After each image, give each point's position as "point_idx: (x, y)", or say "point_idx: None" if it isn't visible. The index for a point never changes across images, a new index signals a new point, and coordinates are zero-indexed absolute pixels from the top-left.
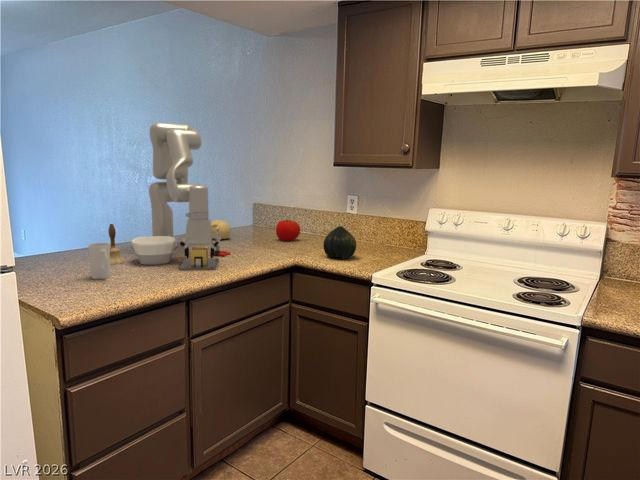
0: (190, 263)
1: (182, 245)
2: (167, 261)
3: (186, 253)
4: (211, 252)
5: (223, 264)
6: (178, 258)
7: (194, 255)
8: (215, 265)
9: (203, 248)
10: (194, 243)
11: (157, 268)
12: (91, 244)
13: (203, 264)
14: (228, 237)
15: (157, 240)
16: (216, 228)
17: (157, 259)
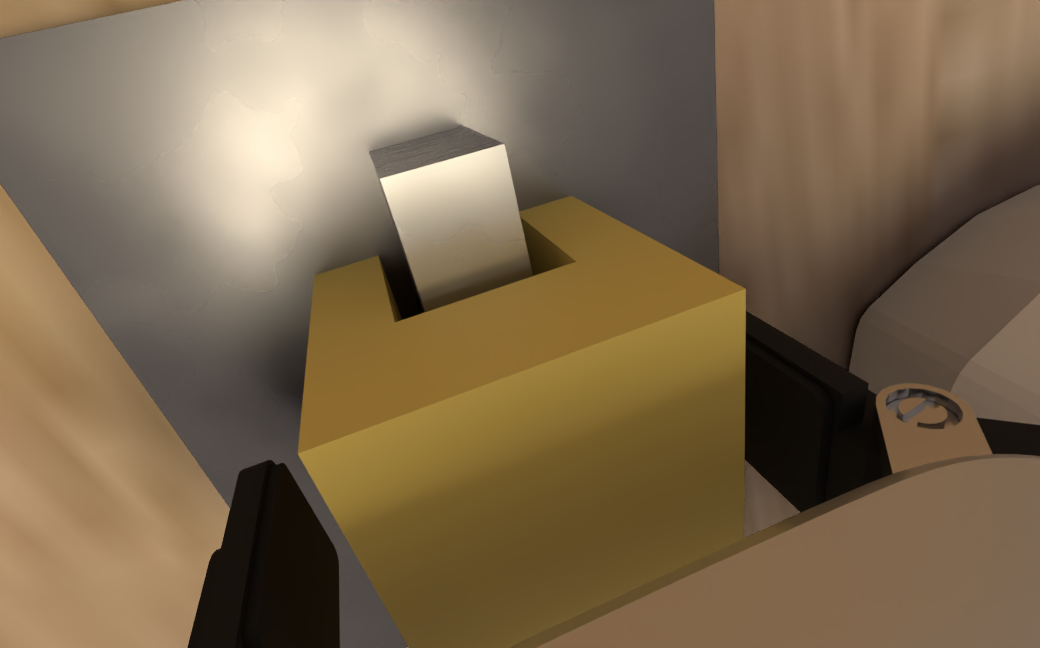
0: None
1: (1011, 434)
2: (886, 310)
3: (773, 332)
4: (238, 559)
5: (122, 507)
6: (780, 519)
7: (585, 270)
8: (109, 299)
9: (498, 617)
10: (807, 539)
11: (969, 7)
12: None
13: (364, 262)
14: None
15: None
16: None
17: (1034, 222)
